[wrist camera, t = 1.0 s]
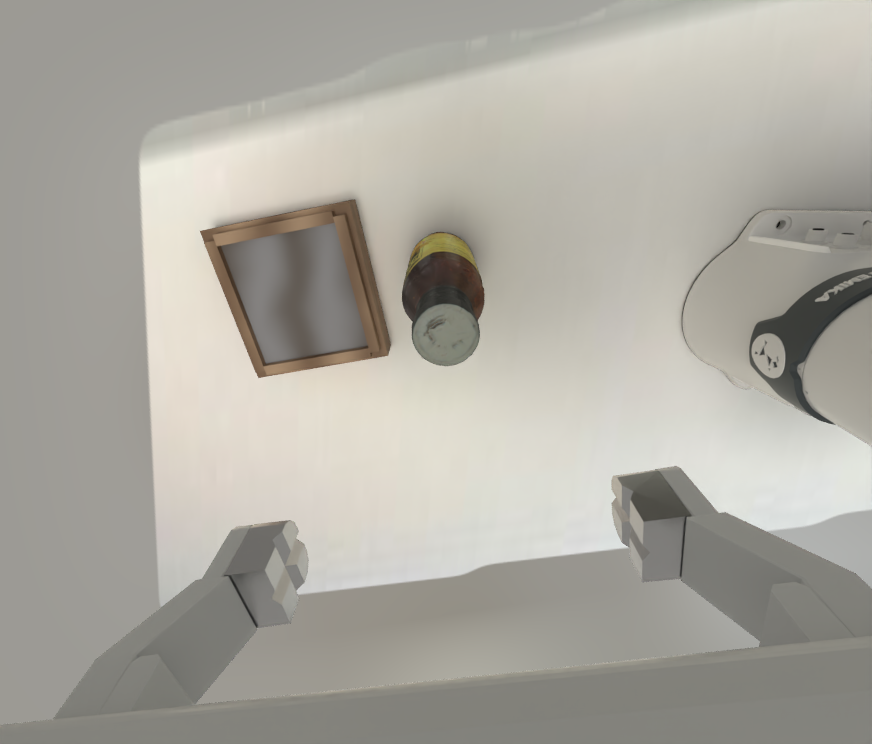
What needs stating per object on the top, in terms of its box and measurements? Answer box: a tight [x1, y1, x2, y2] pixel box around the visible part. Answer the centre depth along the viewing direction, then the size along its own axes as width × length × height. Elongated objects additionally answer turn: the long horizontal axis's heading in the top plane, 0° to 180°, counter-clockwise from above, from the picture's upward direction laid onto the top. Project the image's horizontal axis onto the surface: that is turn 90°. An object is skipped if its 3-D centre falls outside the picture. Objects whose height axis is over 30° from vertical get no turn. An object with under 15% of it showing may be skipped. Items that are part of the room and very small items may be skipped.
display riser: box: [200, 199, 391, 378], centre depth 42 cm, size 14×15×4 cm
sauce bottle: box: [402, 232, 484, 366], centre depth 34 cm, size 6×6×20 cm
